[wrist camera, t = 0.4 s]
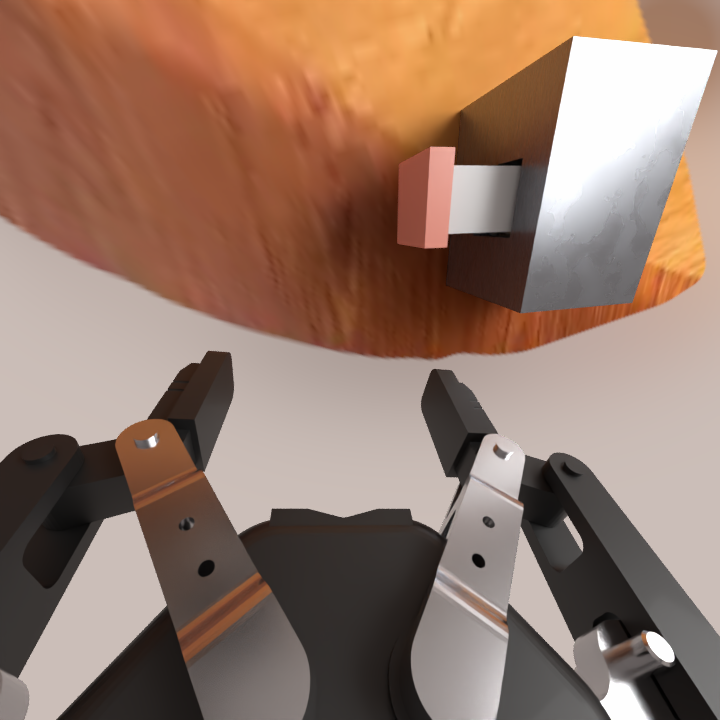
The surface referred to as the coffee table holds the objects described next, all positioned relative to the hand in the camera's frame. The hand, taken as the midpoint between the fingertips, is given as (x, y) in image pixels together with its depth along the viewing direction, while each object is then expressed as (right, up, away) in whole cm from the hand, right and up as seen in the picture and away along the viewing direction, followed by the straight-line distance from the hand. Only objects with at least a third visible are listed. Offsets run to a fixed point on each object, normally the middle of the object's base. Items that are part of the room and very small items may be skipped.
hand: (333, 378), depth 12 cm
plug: (+12, +17, +19) cm, 28 cm away
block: (+18, +19, +24) cm, 36 cm away
